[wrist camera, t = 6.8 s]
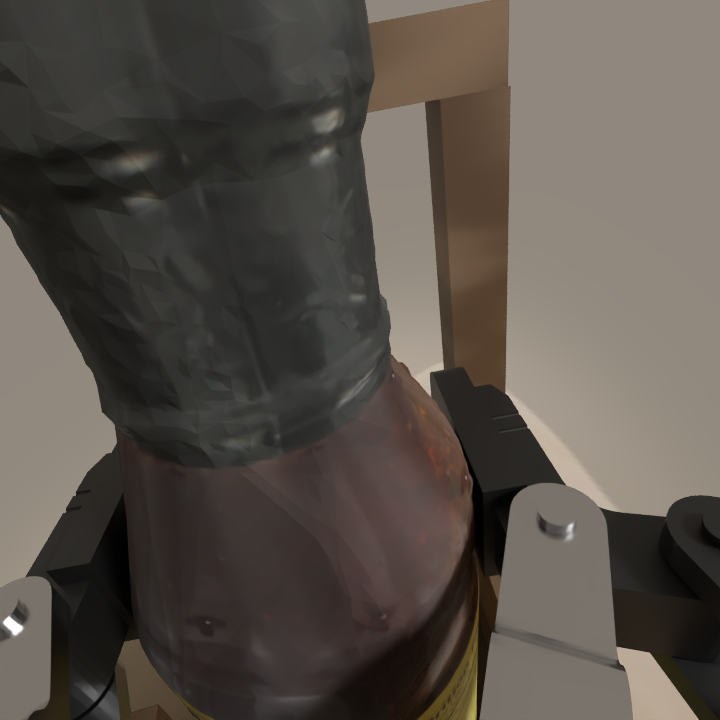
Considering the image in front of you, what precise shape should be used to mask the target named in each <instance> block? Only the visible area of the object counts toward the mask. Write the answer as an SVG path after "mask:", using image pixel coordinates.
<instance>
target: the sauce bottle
mask: <svg viewBox="0 0 720 720" xmlns="http://www.w3.org/2000/svg"><path fill="white" fill-rule="evenodd" d="M374 78H375V72H374V64H373V57H372V49H371V41H370V33H369V25H368V16H367V10H366V4H365V0H0V215H1V217H2V218H3V220H4V221H5V222H6V224H7V225H8V226H9V227H10V229H11V231H12V234H13V236H14V238H15V241H16V243H17V245H18V246H19V248H20V250H21V251H22V252H23V254H24V256H25V257H26V259H27V261H28V262H29V264H30V265H31V267H32V268H33V270H34V272H35V273H36V275H37V277H38V279H39V282H40V283H41V285H42V286H43V288H44V289H45V291H46V292H47V294H48V295H49V297H50V299H51V300H52V301H53V303H54V305H55V306H56V307H57V309H58V311H59V312H60V314H61V316H62V318H63V320H64V322H65V324H66V326H67V327H68V329H69V332H70V333H71V335H72V337H73V339H74V341H75V343H76V345H77V346H78V348H79V350H80V352H81V353H82V356H83V358H84V361H85V363H86V365H87V366H88V367H89V368H90V369H91V371H92V372H93V374H94V378H95V381H96V384H97V387H98V392H99V398H100V403H101V408H102V412H103V413H104V414H105V415H106V416H107V417H108V418H109V419H110V420H111V421H112V422H113V423H114V424H115V430H116V437H117V445H118V453H119V461H120V468H121V476H122V484H123V492H124V501H125V509H126V517H127V534H128V553H129V571H130V588H131V604H132V611H133V616H134V621H135V627H136V630H137V634H138V637H139V640H140V643H141V646H142V648H143V650H144V652H145V654H146V656H147V657H148V659H149V661H150V663H151V664H152V666H153V667H154V668H155V670H156V671H157V673H158V674H159V675H160V677H161V678H162V679H163V680H164V681H165V683H166V684H167V685H168V686H169V687H170V688H171V689H172V691H173V692H174V693H175V694H176V695H177V696H178V697H179V699H180V700H181V701H182V702H183V703H184V704H185V706H186V707H187V708H188V710H189V711H190V712H191V714H192V715H193V716H194V717H196V718H197V719H198V720H476V717H477V704H476V700H477V651H478V619H479V576H478V567H477V562H476V557H475V553H474V549H475V517H476V515H475V505H474V496H473V489H472V487H473V480H472V477H471V475H470V474H469V471H468V466H467V462H466V460H465V456H464V453H463V451H462V447H461V445H460V442H459V440H458V438H457V436H456V435H455V433H454V431H453V428H452V427H451V425H450V424H449V422H448V420H447V418H446V417H445V415H444V414H443V413H442V412H441V410H440V409H439V408H438V404H437V402H436V401H435V400H433V399H432V398H431V397H430V396H429V395H428V394H427V392H426V391H425V390H424V389H423V388H422V387H421V385H420V384H419V383H418V382H417V381H416V380H415V379H414V378H413V377H412V376H411V374H410V372H409V370H408V368H407V367H406V366H405V365H404V364H403V363H402V362H401V363H400V362H397V360H396V359H395V358H394V357H393V355H391V347H390V343H389V334H390V329H391V325H390V315H389V311H388V310H387V302H386V299H385V298H384V297H383V296H382V295H381V294H380V291H379V284H378V277H377V269H376V262H375V245H374V239H373V229H372V228H373V227H372V219H371V213H370V207H369V199H368V193H367V185H366V178H365V166H364V159H363V153H362V147H361V141H360V140H361V134H362V130H363V127H364V124H365V121H366V115H367V110H368V104H369V99H370V93H371V89H372V86H373V82H374Z"/></svg>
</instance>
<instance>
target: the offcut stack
mask: <svg viewBox="0 0 720 720" xmlns="http://www.w3.org/2000/svg"><path fill="white" fill-rule="evenodd" d="M131 719H132V720H172V719H171V718H170V717H169V716H168V714H167V713H166V712H165V711H164V710H163V709H162V708H161V707H160V706H159V705H155V706H151V707H148V708H144V709H141V710H138V711H134V712H131Z"/></svg>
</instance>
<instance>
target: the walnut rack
mask: <svg viewBox="0 0 720 720" xmlns="http://www.w3.org/2000/svg"><path fill="white" fill-rule="evenodd" d="M368 25H369V33H370V41H371V49H372V57H373V64H374V72H375V78H374V82H373V86H372V89H371V93H370V99H369V104H368V110H367V113H368V112H374V111H379V110H384V109H390V108H394V107H400V106H406V105H411V104H416V103H421V102H425V108H426V121H427V136H428V149H429V163H430V178H431V192H432V205H433V220H434V233H435V248H436V262H437V276H438V291H439V305H440V318H441V332H442V346H443V361H444V370H447V369H452V368H457V367H463V368H464V369H465V370H466V372H467V374H468V376H469V378H470V380H471V381H472V383H473V385H474V387H476V386H482V385H487V384H491V385H493V386H494V387H496V388H497V389H499V390H500V391H502V392H503V393H505V378H506V321H507V320H506V319H507V316H506V315H507V263H508V261H507V259H508V205H509V147H510V146H509V145H510V89H511V87H510V86H508V43H509V39H508V38H509V0H490V1H485V2H480V3H475V4H469V5H464V6H459V7H453V8H448V9H443V10H438V11H432V12H427V13H422V14H417V15H411V16H406V17H401V18H396V19H390V20H385V21H380V22H374V23H370V24H368ZM474 553H475V557H476V562H477V567H478V576H479V622H480V625H481V628H482V631H483V634H484V638H485V641H486V644H487V647H488V650H489V646H490V640H491V634H492V630H493V628H494V626H495V622H496V615H497V608H498V600H499V592H500V584H501V577H500V575H495V576H490V577H484V574H483V571H482V569H481V566H480V563H479V560H478V557H477V554H476V552H475V549H474Z"/></svg>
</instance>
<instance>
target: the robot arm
mask: <svg viewBox="0 0 720 720" xmlns="http://www.w3.org/2000/svg"><path fill="white" fill-rule="evenodd" d="M430 385H431V396H432V399H433V400H435V401H436V402H437V404H438V408H439V409H440V410H441V412H442V413H443V414H444V415H445V417H446V418H447V420H448V422H449V424H450V425H451V427H452V428H453V431H454V433H455V435H456V436H457V438H458V440H459V442H460V445H461V447H462V451H463V453H464V456H465V460H466V462H467V466H468V471H469V474H470V475H471V477H472V480H473V487H472V489H473V496H474V505H475V515H476V517H475V552H476V554H477V557H478V560H479V563H480V566H481V569H482V571H483V574H484V577H490V576H495V575H500V577H501V584H500V592H499V600H498V608H497V615H496V622H495V626H494V628H493V630H492V634H491V640H490V646H489V653H488V660H487V667H486V675H485V682H484V690H483V697H482V705H481V712H480V720H633V714H632V704H631V695H630V688H629V682H628V677H627V673H626V670H625V668H624V666H623V665H621V664H620V663H619V660H618V655H617V648H616V647H622V648H627V649H633V650H639V651H644V652H650V653H651V655H652V656H653V657H654V659H655V660H656V661H657V663H658V664H659V666H660V667H661V668H662V670H663V671H664V672H665V674H666V675H667V676H668V678H669V679H670V681H671V682H672V683H673V685H674V686H675V687H676V689H677V690H678V692H679V693H680V694H681V696H682V697H683V698H684V700H685V701H686V702H687V704H688V705H689V707H690V708H691V709H692V711H693V712H694V713H695V715H696V716H697V718H698V719H699V720H720V498H719V497H712V496H701V495H700V496H690V497H685V498H682V499H680V500H678V501H676V502H675V503H673V504H672V506H671V507H670V508H669V510H668V513H667V516H666V517H661V516H651V515H641V514H630V513H621V512H614V511H610V510H606V509H603V508H600V507H598V506H597V504H596V503H595V502H594V501H593V500H591V499H590V498H589V497H588V496H586V495H585V494H583V493H582V492H580V491H578V490H576V489H574V488H571V487H568V486H566V484H565V483H564V482H563V480H562V479H561V477H560V476H559V474H558V473H557V471H556V470H555V468H554V466H553V465H552V463H551V462H550V460H549V459H548V457H547V456H546V454H545V452H544V451H543V449H542V448H541V446H540V445H539V443H538V442H537V440H536V438H535V437H534V435H533V434H532V432H531V431H530V429H528V428H527V424H526V423H525V421H524V420H523V418H522V417H521V415H519V412H518V410H517V409H516V407H515V406H514V404H513V403H512V401H511V399H510V398H509V396H508V395H506V394H505V393H503V392H502V391H500V390H499V389H497V388H496V387H494V386H493V385H491V384H487V385H482V386H476V387H474V385H473V383H472V381H471V380H470V378H469V376H468V374H467V372H466V370H465V369H464V368H463V367H457V368H452V369H447V370H441V371H436V372H431V373H430ZM135 639H139V637H138V634H137V630H136V627H135V621H134V616H133V611H132V604H131V588H130V571H129V553H128V534H127V517H126V509H125V501H124V492H123V484H122V476H121V468H120V461H119V453H118V445H117V444H116V446H115V448H114V449H113V451H112V453H108V454H106V455H105V456H104V457H103V458H102V459H101V460H100V461H99V462H98V463H97V464H96V465H95V466H93V467H92V468H91V469H90V471H88V472H87V474H86V476H85V478H84V479H83V481H82V483H81V484H80V486H79V487H78V489H77V491H76V496H73V498H72V499H71V501H70V503H69V505H68V506H67V508H66V513H63V514H62V516H61V518H60V520H59V521H58V523H57V525H56V527H55V528H54V530H53V531H52V533H51V535H50V537H49V538H48V540H47V542H46V543H45V545H44V547H43V548H42V550H41V552H40V553H39V555H38V557H37V558H36V560H35V562H34V564H33V565H32V567H31V569H30V570H29V572H28V574H27V575H26V577H25V578H21V579H18V580H16V581H13V582H11V583H9V584H7V585H5V586H3V587H1V588H0V720H132V719H131V711H130V703H129V695H128V687H127V679H126V671H125V667H124V665H123V663H122V661H121V660H120V659H119V655H120V652H121V649H122V646H123V643H124V641H129V640H135Z"/></svg>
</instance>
